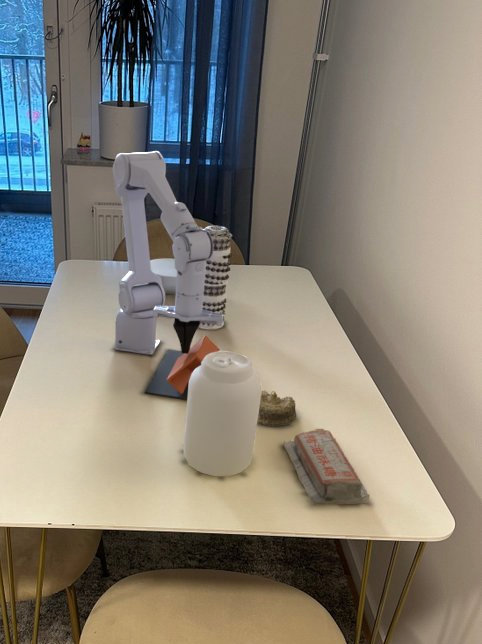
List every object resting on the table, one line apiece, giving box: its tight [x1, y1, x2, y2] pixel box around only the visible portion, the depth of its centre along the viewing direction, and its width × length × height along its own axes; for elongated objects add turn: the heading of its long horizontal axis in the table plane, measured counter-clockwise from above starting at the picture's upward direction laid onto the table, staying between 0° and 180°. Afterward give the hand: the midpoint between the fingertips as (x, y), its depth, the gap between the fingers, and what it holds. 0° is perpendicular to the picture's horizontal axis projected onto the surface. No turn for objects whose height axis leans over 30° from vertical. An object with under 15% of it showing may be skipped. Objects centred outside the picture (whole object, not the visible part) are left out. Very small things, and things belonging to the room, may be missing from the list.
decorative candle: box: [198, 225, 233, 330], centre depth 165 cm, size 9×9×25 cm
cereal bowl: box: [147, 257, 177, 295], centre depth 190 cm, size 17×17×7 cm
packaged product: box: [283, 428, 370, 506], centre depth 114 cm, size 18×5×10 cm
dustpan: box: [167, 334, 221, 394], centre depth 141 cm, size 4×17×9 cm
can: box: [183, 350, 263, 477], centre depth 113 cm, size 12×12×20 cm
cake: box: [257, 390, 298, 427], centre depth 131 cm, size 10×10×5 cm
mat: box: [144, 349, 193, 401], centre depth 145 cm, size 18×22×1 cm
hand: (185, 351), depth 139 cm, fingers closed
